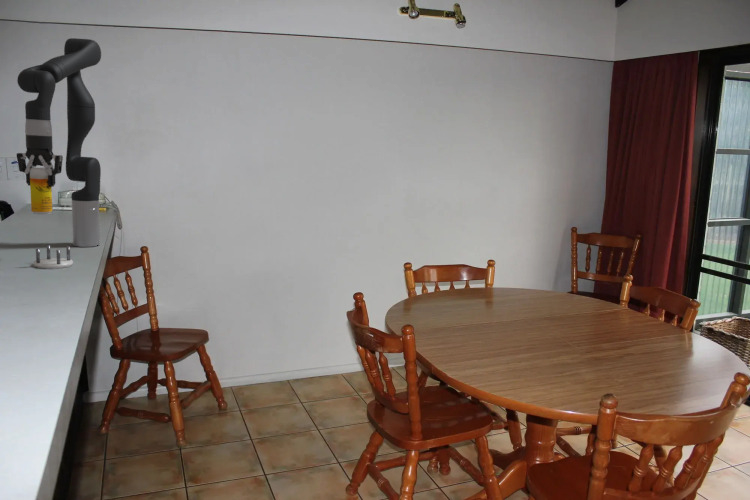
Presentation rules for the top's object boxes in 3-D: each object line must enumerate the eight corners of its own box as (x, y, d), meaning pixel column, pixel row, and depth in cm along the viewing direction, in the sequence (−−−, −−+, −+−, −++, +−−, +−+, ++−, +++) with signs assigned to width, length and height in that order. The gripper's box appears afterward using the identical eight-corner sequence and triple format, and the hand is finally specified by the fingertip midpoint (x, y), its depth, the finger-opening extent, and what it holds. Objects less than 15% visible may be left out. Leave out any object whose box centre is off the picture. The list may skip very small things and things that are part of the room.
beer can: (46, 215, 194) (44, 168, 192) (27, 213, 194) (25, 167, 192) (56, 212, 200) (54, 168, 198) (38, 211, 200) (36, 166, 198)
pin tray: (45, 260, 197) (44, 243, 196) (79, 262, 197) (78, 245, 196) (26, 267, 186) (26, 249, 185) (62, 269, 186) (61, 251, 185)
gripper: (67, 135, 197) (68, 186, 200) (22, 132, 196) (25, 183, 199) (55, 135, 189) (57, 188, 192) (9, 132, 189) (12, 185, 192)
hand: (40, 185), depth 196 cm, fingers closed on beer can, 6 cm apart
